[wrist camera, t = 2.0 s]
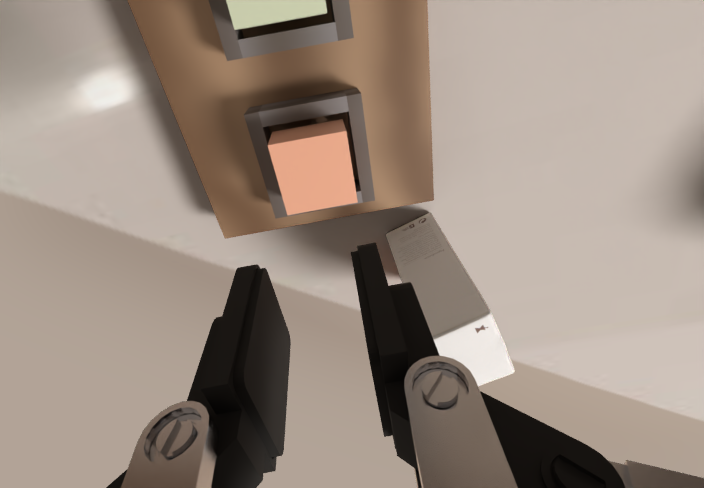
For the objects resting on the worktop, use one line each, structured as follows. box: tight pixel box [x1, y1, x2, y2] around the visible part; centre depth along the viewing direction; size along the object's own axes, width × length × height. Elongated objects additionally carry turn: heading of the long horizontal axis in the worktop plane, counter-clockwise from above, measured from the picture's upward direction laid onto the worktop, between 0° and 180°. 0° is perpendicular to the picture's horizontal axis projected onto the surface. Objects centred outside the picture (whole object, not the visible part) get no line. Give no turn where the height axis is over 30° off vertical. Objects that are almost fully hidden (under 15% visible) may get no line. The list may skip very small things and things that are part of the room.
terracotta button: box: [268, 119, 358, 215], centre depth 20 cm, size 4×4×3 cm
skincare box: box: [386, 213, 515, 386], centre depth 26 cm, size 6×4×12 cm
